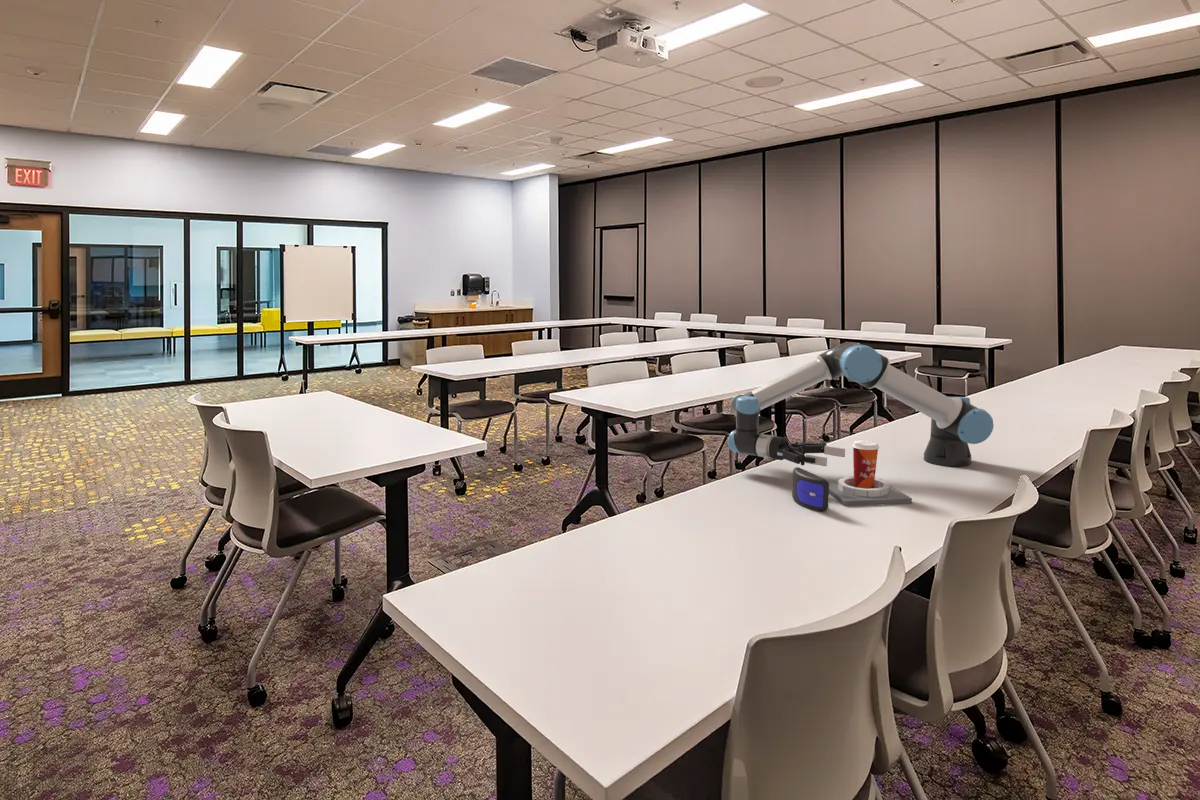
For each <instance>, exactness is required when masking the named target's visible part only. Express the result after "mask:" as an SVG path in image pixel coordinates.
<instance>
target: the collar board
mask: <svg viewBox="0 0 1200 800" xmlns="http://www.w3.org/2000/svg"><path fill="white" fill-rule="evenodd" d="M827 481H828V483H829V495H830V496H831V497H832V498H833V499H835V500H836V501H837V502H839V503H840V504H841V505H842V506H843V507H853V506H856V505H858V506H879V505H878V504H880V505H881V504H884V505H905V504H904V503H910V504H912V503H913V498H912V497H911V496H909V495H907V494H905V493H904V492H902V491H901V490H899V489H897V488H896V487H894V486H893V485H891V484H890V483H888V482H886V481H885V480H883V479H881V478H876V477H875V480H874V487H873V488H871V489H865V488H856V487H854V476H844V477H842V478H839V479H838V480H827Z"/></svg>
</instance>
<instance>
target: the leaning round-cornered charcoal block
mask: <svg viewBox="0 0 1200 800" xmlns="http://www.w3.org/2000/svg"><path fill="white" fill-rule="evenodd" d="M828 481H829V480H827V479H826V478H823V476H820V475H817V474H815V473H812V472H810V471H808V470H806V469H803V468H801V467H794V468H793V469H792V492H791V493H792V495H791V496H792V499H793V501H794V502H796V503H797V504H798V505H800V506H802V507H804V508H807V509H811V510H814V511H817V512H826V511H827V510H828V509H829V498H830V497H829V495H830V494H829V483H828Z"/></svg>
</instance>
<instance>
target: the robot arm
mask: <svg viewBox="0 0 1200 800" xmlns="http://www.w3.org/2000/svg"><path fill="white" fill-rule="evenodd" d="M839 377H845V378H848V379H849V380H851V381H853V382H855V383H857V384H858V385H861V386H863V387H864V388H866V389H869V390H871V389H873V388H876V389H877V390H880V391H881V392H883V393H884V394H886V395H888V396H890V397H892V398H894V399H896V400H897V401H900V402H901V403H903V404H905V405H906V406H908V407H910V408H912V409H914V410H915V411H918V412H919V413H921V414H922V415H925V416H926V417H928V418H930V419H931V421H930V422H931V423H930V438H929V440H928V442H927V445H926V446H925V449H924V452H923V460H924V461H925V462H927V463H930V464H934V465H936V466H937V465H938V466H946V467H964V466H970V465H971V464H972V458H973V457H972V454H971V450H970V447H969V444H971V445H978V444H980V443H983V442H985V441H986V440H987V439H988V438H989V437H990V436H991V435H992V432H993V431H994V425H995V424H994V420H993V417H992V415H991V414H990V413H989V412H987V410H985V409H982V408H979V407H977V406H975V405H973V404H972V403H971V399H970V398H969V397H966V396H947V395H945V394H943V393H942V392H939V391H938V390H936V389H934V388H933V387H931V386H929V385H927V384H925V383H923V382H922V381H920V380H918V379H916V378H915V377H913V376H911V375H909V374H907V373H905V372H904V371H902V370H900V369H898V368H897V367H894V366H893V365H891V363H890V361H889V358H888V357H886V356H884V355H883V354H881V353H879V352H878V351H877V350H875V349H874V348H873V347H871V346H868V345H866V344H860V343H857V342H854V341H849V342H848V341H847V342H843V343H840V344H837V345H836V346H834V347H832V348H830V349H828V350H826V351H824V352H822V353H821V354H818V355H817V357H816V359H815V360H813V361H810V362H808V363H806V364H804V365H802V366H800V367H798V368H796V369H794V370H792V371H790V372H788V373H785V374H783V375H782V376H779V377H778V378H775V379H774V380H771V381H769V382H767V383H765V384H763V385H762V386H759V387H757V388H755V389H753V390H751V391H748V392H746V393H744V394H737V395H735V396H734V397H732V399H731V401H730V412H731V413H732V414H733V415H734V417H735V429H734V430H732V431H731V432H730V433H729V435H728V439H727V445H728V448H729V450H730V451H731V452H733V453H738V454H741V455H747V456H757V457H762V458H763V459H765V460H766V459H767V458H768V459H774V460H778V461H783V460H786V461H789V462H792V463H794V464H797V465H799V464H800V466H806V465H805V464H810V465H816V466H821V467H827V465H828V457H827V455H828V456H832V457H838V458H839V457H840V458H845V457H846V448H844V447H839V446H838V447H836V446H830V445H827V442H823V443H818V442H817V443H815V442H812V443H811V442H798V441H795V442H792V443H789V441H788V439H787V438H786V437H782V436H776V435H775V436H774V435H771V434H763V433H759V421H760V419H759V418H760V412H761V411H762V410H764V409H765V408H768V407H770V406H773V405H774V404H776V403H779V402H780V401H783V400H785V399H787V398H789V397H792V396H793V395H795V394H797V393H799V392H801V391H804V390H806V389H808V388H810V387H812V386H815V385H816V384H818V383H821V382H823V381H825V380H829V381H832V380H834V379H836V378H839ZM815 454H823V455H826V456H821V455H815Z"/></svg>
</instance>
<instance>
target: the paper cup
mask: <svg viewBox="0 0 1200 800" xmlns="http://www.w3.org/2000/svg"><path fill="white" fill-rule="evenodd" d="M852 448H853V449H852V450H853V453H852V454H853V456H852V458H853V462H852V463H853V477H854V487H856V488H865V489H871V488H873V487H874V480H875V478H876V470H877V460H878V451H879V449H880V446H879V443H878V442H876V441H874V440H867V439H865V440H864V439H860V440H859V439H858V440H854V441H853V444H852Z"/></svg>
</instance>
